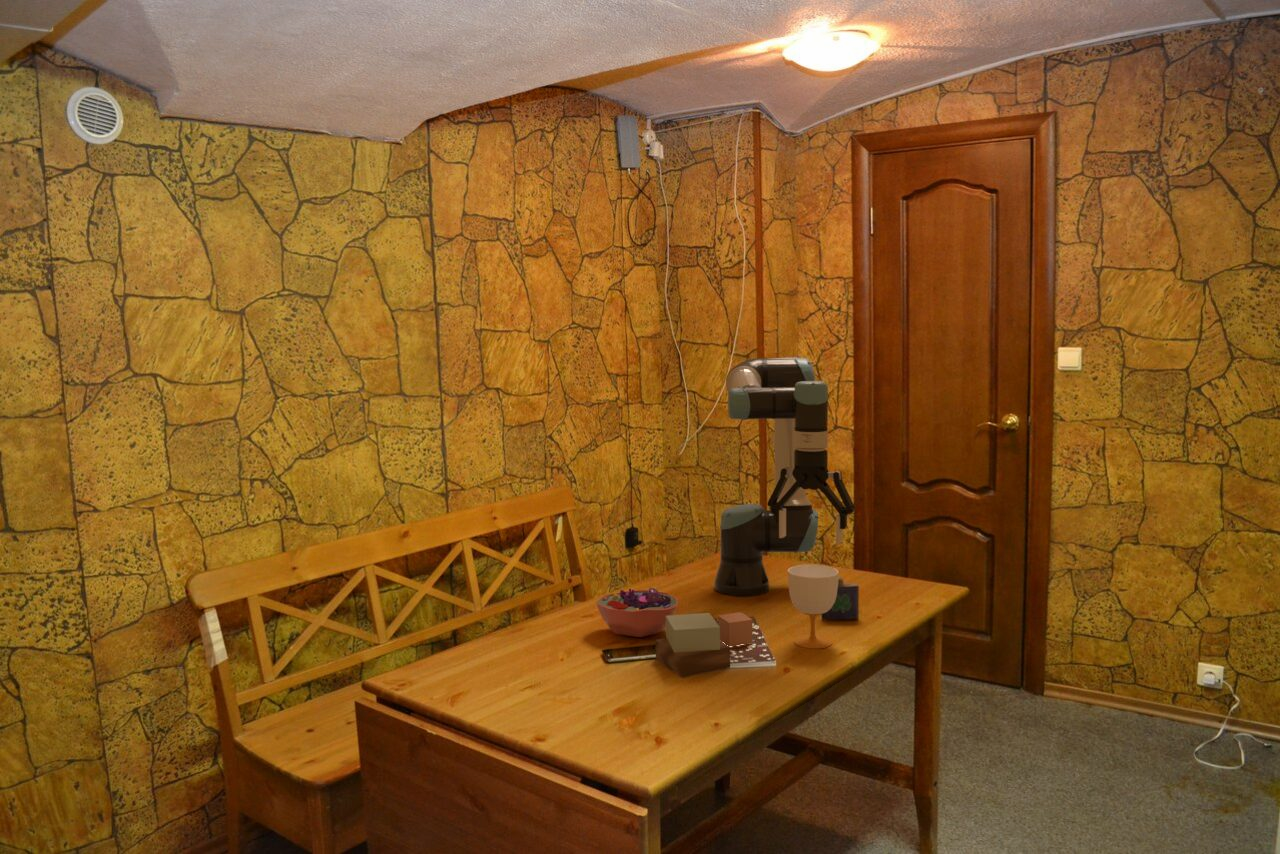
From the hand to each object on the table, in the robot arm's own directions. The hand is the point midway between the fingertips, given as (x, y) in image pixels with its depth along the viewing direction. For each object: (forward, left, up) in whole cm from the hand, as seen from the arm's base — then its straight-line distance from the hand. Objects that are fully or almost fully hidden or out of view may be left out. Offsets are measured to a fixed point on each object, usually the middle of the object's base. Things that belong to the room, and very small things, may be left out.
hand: (810, 539), depth 215 cm
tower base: (+5, -31, -25) cm, 40 cm away
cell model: (-18, -37, -24) cm, 48 cm away
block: (-5, -17, -24) cm, 30 cm away
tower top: (+5, -31, -20) cm, 37 cm away
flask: (-12, +14, -24) cm, 31 cm away
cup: (+1, 0, -24) cm, 24 cm away
